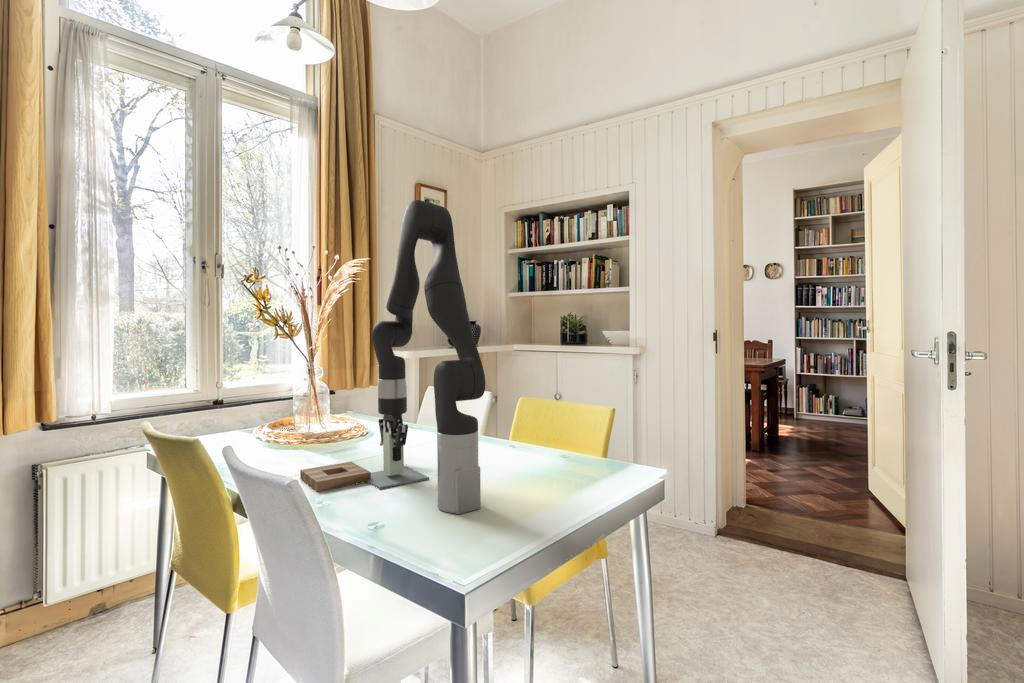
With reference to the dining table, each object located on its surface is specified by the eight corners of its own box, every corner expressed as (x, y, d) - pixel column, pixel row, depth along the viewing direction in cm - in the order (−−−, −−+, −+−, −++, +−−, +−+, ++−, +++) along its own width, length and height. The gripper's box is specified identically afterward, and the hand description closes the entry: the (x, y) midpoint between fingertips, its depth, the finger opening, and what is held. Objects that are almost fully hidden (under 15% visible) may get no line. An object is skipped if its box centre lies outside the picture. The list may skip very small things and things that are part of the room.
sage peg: (403, 473, 143) (403, 432, 142) (389, 475, 140) (389, 434, 140) (397, 469, 146) (396, 430, 145) (383, 472, 143) (383, 431, 143)
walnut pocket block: (370, 481, 140) (370, 472, 140) (316, 491, 132) (316, 481, 132) (351, 470, 151) (351, 461, 151) (300, 479, 143) (300, 469, 143)
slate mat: (429, 479, 142) (429, 477, 142) (379, 489, 133) (379, 487, 133) (405, 468, 153) (405, 466, 153) (358, 477, 144) (358, 474, 144)
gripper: (417, 397, 139) (418, 462, 139) (394, 391, 150) (394, 452, 151) (390, 399, 134) (391, 467, 135) (368, 394, 146) (369, 456, 146)
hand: (393, 458), depth 143 cm, fingers closed on sage peg, 3 cm apart
